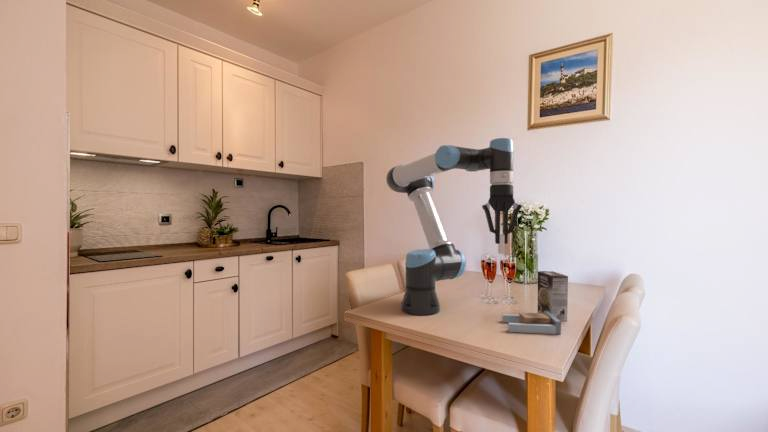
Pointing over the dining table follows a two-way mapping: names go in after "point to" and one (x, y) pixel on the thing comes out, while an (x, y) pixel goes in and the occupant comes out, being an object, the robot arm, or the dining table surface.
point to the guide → (532, 325)
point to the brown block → (534, 318)
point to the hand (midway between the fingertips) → (501, 253)
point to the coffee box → (553, 294)
